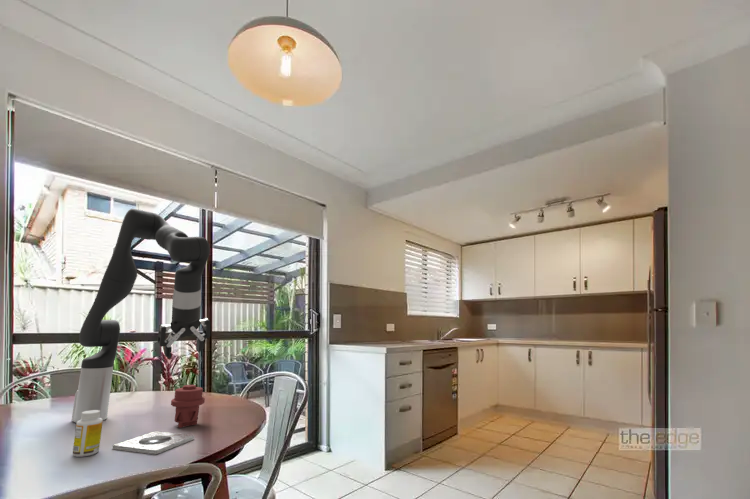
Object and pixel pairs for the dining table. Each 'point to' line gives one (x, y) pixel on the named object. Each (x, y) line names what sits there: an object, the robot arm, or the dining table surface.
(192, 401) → the mechanical component
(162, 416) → the dining table surface
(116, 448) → the seat plate
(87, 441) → the supplement bottle
